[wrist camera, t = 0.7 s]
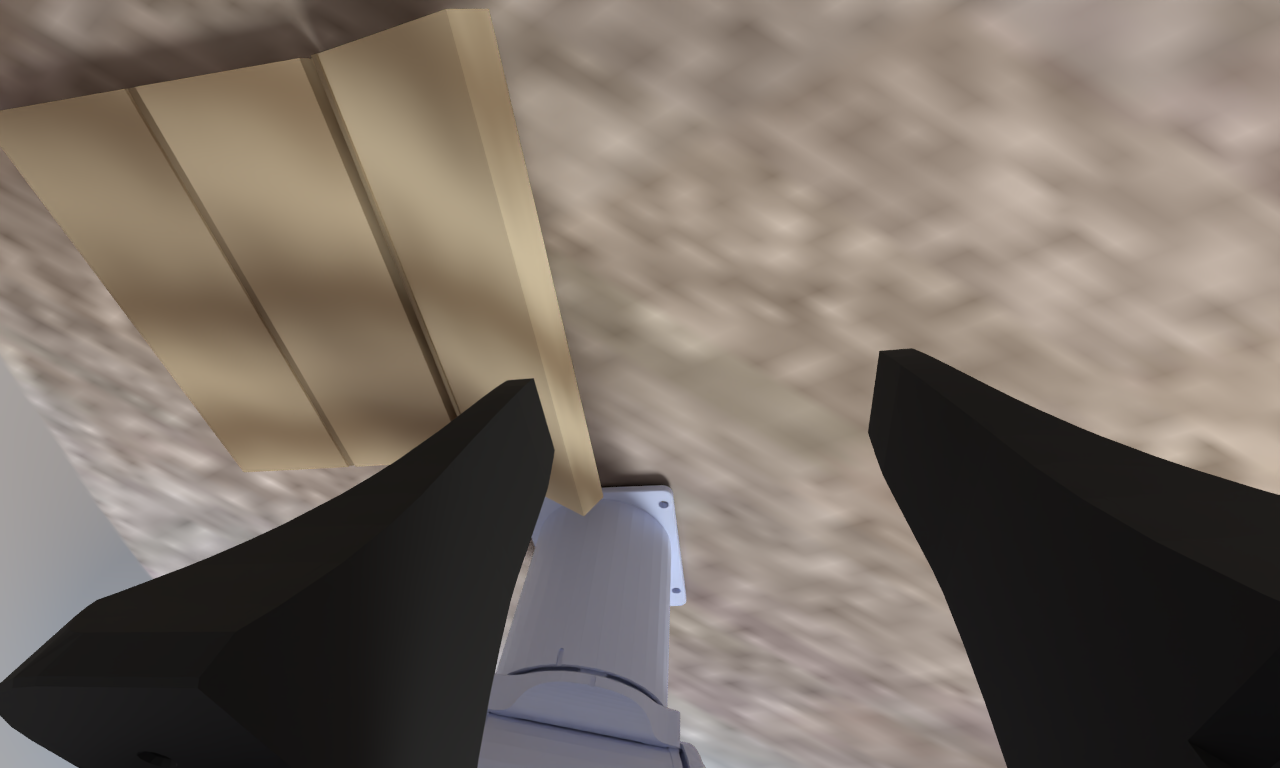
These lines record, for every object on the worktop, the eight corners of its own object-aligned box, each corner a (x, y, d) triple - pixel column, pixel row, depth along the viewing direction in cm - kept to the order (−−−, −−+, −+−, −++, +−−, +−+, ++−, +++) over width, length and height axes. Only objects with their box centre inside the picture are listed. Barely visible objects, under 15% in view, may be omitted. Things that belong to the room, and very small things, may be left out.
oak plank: (603, 497, 20) (583, 517, 19) (494, 445, 24) (473, 461, 23) (488, 8, 12) (443, 9, 11) (349, 53, 15) (308, 56, 15)
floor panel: (476, 444, 24) (467, 460, 23) (260, 456, 26) (243, 472, 25) (323, 58, 16) (299, 57, 15) (18, 112, 17) (-24, 114, 16)
